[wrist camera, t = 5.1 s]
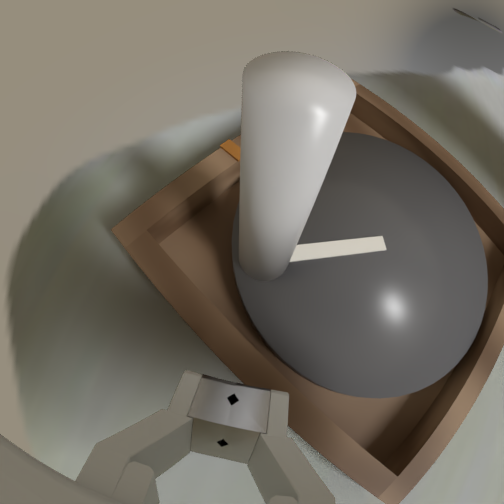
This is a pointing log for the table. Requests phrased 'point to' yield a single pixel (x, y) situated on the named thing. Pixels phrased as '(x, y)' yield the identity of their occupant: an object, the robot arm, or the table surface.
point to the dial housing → (265, 361)
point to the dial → (348, 240)
